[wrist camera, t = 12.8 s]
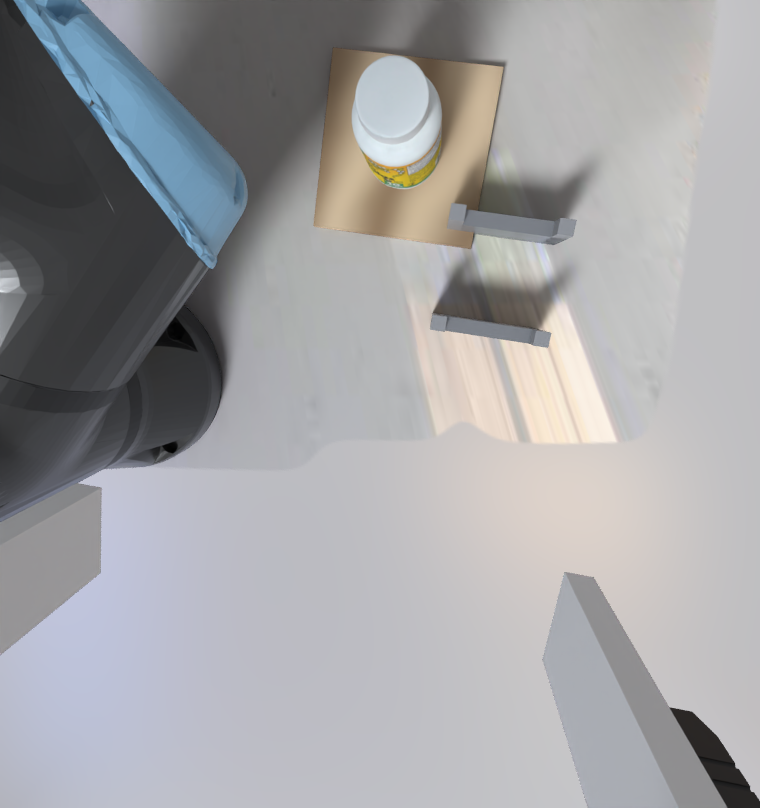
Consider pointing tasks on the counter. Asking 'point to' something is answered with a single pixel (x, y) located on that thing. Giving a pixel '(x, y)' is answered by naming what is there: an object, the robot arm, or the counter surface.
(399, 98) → the supplement bottle
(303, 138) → the counter surface
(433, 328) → the holder
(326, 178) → the square wooden board
